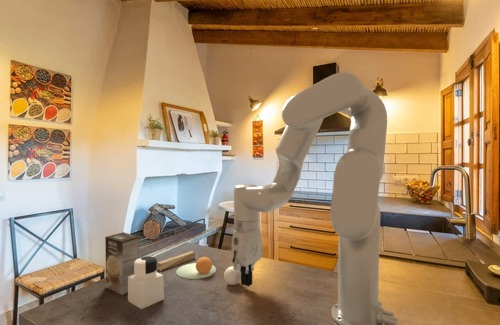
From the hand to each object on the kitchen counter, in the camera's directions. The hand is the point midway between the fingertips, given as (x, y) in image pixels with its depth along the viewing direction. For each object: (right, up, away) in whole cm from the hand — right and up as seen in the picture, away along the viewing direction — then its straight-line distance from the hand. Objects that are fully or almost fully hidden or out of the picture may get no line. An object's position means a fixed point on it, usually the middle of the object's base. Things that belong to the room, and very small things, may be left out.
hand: (246, 284), depth 88 cm
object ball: (-15, +1, +12) cm, 19 cm away
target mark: (-18, -1, +14) cm, 23 cm away
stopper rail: (-27, -1, +21) cm, 34 cm away
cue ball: (-4, +1, +3) cm, 6 cm away
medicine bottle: (-28, -2, -7) cm, 29 cm away
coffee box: (-39, -2, +1) cm, 39 cm away
